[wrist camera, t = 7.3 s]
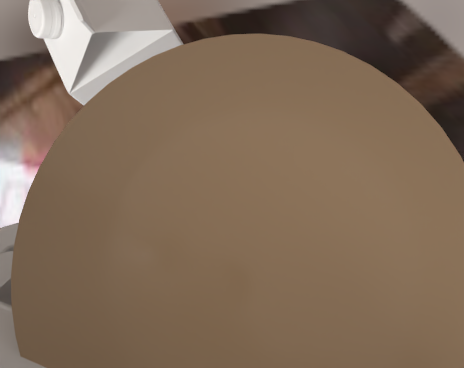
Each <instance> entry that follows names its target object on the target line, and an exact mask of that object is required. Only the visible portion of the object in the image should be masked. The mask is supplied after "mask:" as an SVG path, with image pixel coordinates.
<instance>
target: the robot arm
mask: <svg viewBox="0 0 464 368" xmlns="http://www.w3.org/2000/svg"><path fill="white" fill-rule="evenodd" d="M18 224H19V223H16V224H13V225H9V226H6V227H2V228H0V368H46V367H43V366H41V365H39V364H37V363H34V362H32V361H30V360H28V359H25V358H23V357H21V356H20V352H19V348H18V344H17V340H16V336H15V329H14V321H13V314H12V306H11V270H12V260H13V249H14V243H15V238H16V234H17V229H18Z"/></svg>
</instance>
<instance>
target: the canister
mask: <svg viewBox="0 0 464 368" xmlns="http://www.w3.org/2000/svg"><path fill="white" fill-rule="evenodd" d="M11 306H12V314H13V321H14V329H15V336H16V340H17V344H18V348H19V352H20V356H21V357H23V358H25V359H28V360H30V361H32V362H34V363H37V364H39V365H41V366H43V367H46V368H464V162H463V160H462V158H461V156H460V154H459V153H458V151H457V150H456V148H455V147H454V145H453V144H452V142H451V141H450V139H449V138H448V136H447V135H446V133H445V132H444V130H443V129H442V127H441V126H440V125H439V124H438V123H437V122H436V121H435V119H434V118H433V117H432V116H431V115H430V114H429V113H428V111H427V110H426V109H425V108H424V107H423V106H422V105H421V103H419V102H418V101H417V100H416V99H415V98H414V97H413V96H411V95H410V94H409V93H408V92H407V91H406V90H405V89H403V88H402V87H401V86H400V85H399V84H398V83H397V82H395V81H394V80H392V79H391V78H389V77H388V76H386V75H385V74H383V73H382V72H380V71H379V70H377V69H376V68H374V67H373V66H371V65H369V64H367V63H365V62H363V61H361V60H359V59H357V58H355V57H353V56H351V55H349V54H347V53H345V52H343V51H340V50H337V49H334V48H332V47H329V46H326V45H323V44H320V43H317V42H313V41H309V40H304V39H299V38H295V37H290V36H281V35H270V34H233V35H226V36H219V37H213V38H206V39H202V40H198V41H195V42H191V43H187V44H184V45H180V46H177V47H175V48H172V49H170V50H167V51H165V52H162V53H160V54H157V55H155V56H153V57H151V58H149V59H147V60H145V61H143V62H142V63H140V64H138V65H136V66H134V67H132V68H131V69H129V70H128V71H126V72H125V73H123V74H122V75H120V76H119V77H117V78H116V79H115V80H113V81H112V82H110V83H109V84H108V85H106V86H105V87H104V88H103V89H102V90H101V91H100V92H98V93H97V94H96V95H95V96H94V97H93V98H92V99H90V100H89V101H88V102H87V103H86V104H85V105H84V106H83V107H82V109H81V110H80V111H79V112H78V113H77V114H76V115H75V116H74V117H73V118H72V119H71V121H70V122H69V123H68V124H67V126H66V127H65V128H64V130H63V131H62V132H61V134H60V135H59V136H58V138H57V139H56V141H55V142H54V143H53V145H52V147H51V148H50V150H49V152H48V153H47V155H46V157H45V159H44V160H43V162H42V164H41V165H40V167H39V169H38V172H37V174H36V176H35V178H34V181H33V183H32V185H31V187H30V189H29V192H28V195H27V198H26V201H25V204H24V207H23V210H22V213H21V216H20V219H19V224H18V229H17V234H16V238H15V243H14V249H13V260H12V270H11Z"/></svg>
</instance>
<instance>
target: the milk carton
mask: <svg viewBox="0 0 464 368" xmlns="http://www.w3.org/2000/svg"><path fill="white" fill-rule="evenodd" d="M28 19H29V25H30V28H31V31H32V33H33V34H34V36H36V37H37V38H43V39H44V41H45V43H46V45H47V47H48V50H49V52H50V54H51V56H52V59H53V61H54V63H55V65H56V67H57V70H58V72H59V74H60V76H61V79H62V81H63V83H64V85H65V87H66V89H67V91H68V93H69V94H70V95H71V96H72V97H74V98H75V99H76V100H77V101H79V102H80V103H81V104H83V105H85V104H86V103H87V102H88V101H89V100H90V99H92V98H93V97H94V96H95V95H96V94H97V93H98V92H100V91H101V90H102V89H103V88H104V87H105V86H106V85H108V84H109V83H110V82H112V81H113V80H115V79H116V78H117V77H119V76H120V75H122V74H123V73H125V72H126V71H128V70H129V69H131V68H132V67H134V66H136V65H138V64H140V63H142V62H143V61H145V60H147V59H149V58H151V57H153V56H155V55H157V54H160V53H162V52H165V51H167V50H170V49H172V48H175V47H177V46H180V45H184V44H183V43H182V41H181V39H180V37H179V36H178V34H177V32H176V31H175V29H174V27H173V26H172V24H171V22H170V20H169V19H168V17H167V15H166V14H165V12H164V10H163V9H162V7H161V5H160V3H159V2H158V0H30V3H29V8H28Z"/></svg>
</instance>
